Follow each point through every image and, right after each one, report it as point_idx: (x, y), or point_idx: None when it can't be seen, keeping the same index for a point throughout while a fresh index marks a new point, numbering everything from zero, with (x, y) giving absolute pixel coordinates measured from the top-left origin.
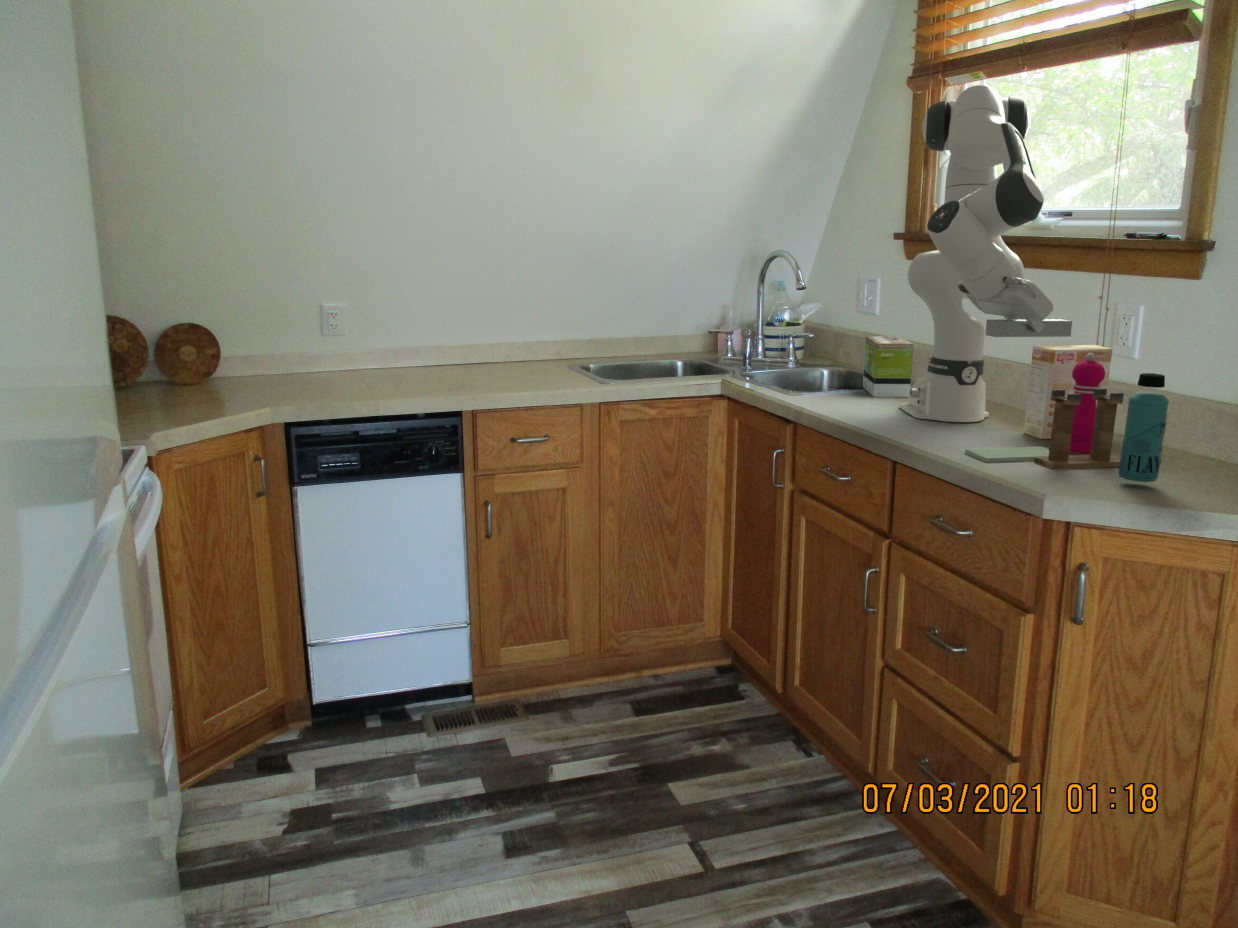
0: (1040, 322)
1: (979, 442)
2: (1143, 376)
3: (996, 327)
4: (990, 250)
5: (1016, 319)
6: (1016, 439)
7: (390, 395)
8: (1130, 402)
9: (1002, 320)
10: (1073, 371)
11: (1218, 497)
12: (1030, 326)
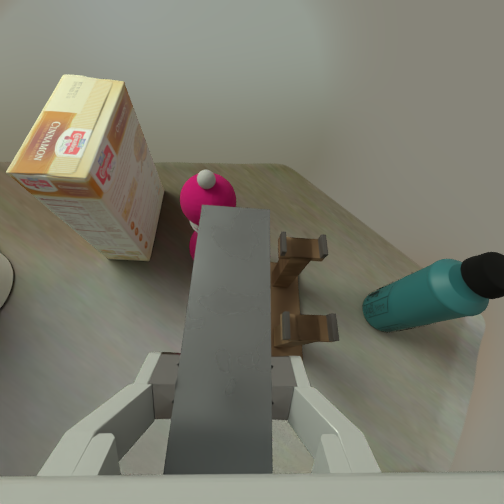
0: (306, 379)
1: (131, 363)
2: None
3: None
4: None
5: (170, 442)
6: (135, 293)
7: None
8: (456, 314)
9: None
10: (197, 220)
11: (411, 266)
12: (282, 419)
